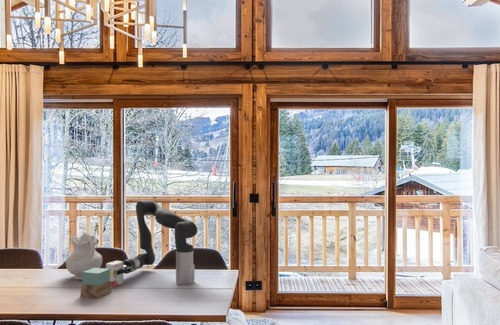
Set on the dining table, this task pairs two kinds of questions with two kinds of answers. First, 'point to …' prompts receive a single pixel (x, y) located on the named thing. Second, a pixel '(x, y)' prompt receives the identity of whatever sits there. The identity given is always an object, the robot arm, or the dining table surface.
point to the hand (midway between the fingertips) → (111, 272)
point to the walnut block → (95, 290)
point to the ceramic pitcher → (83, 256)
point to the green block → (96, 276)
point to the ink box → (115, 272)
